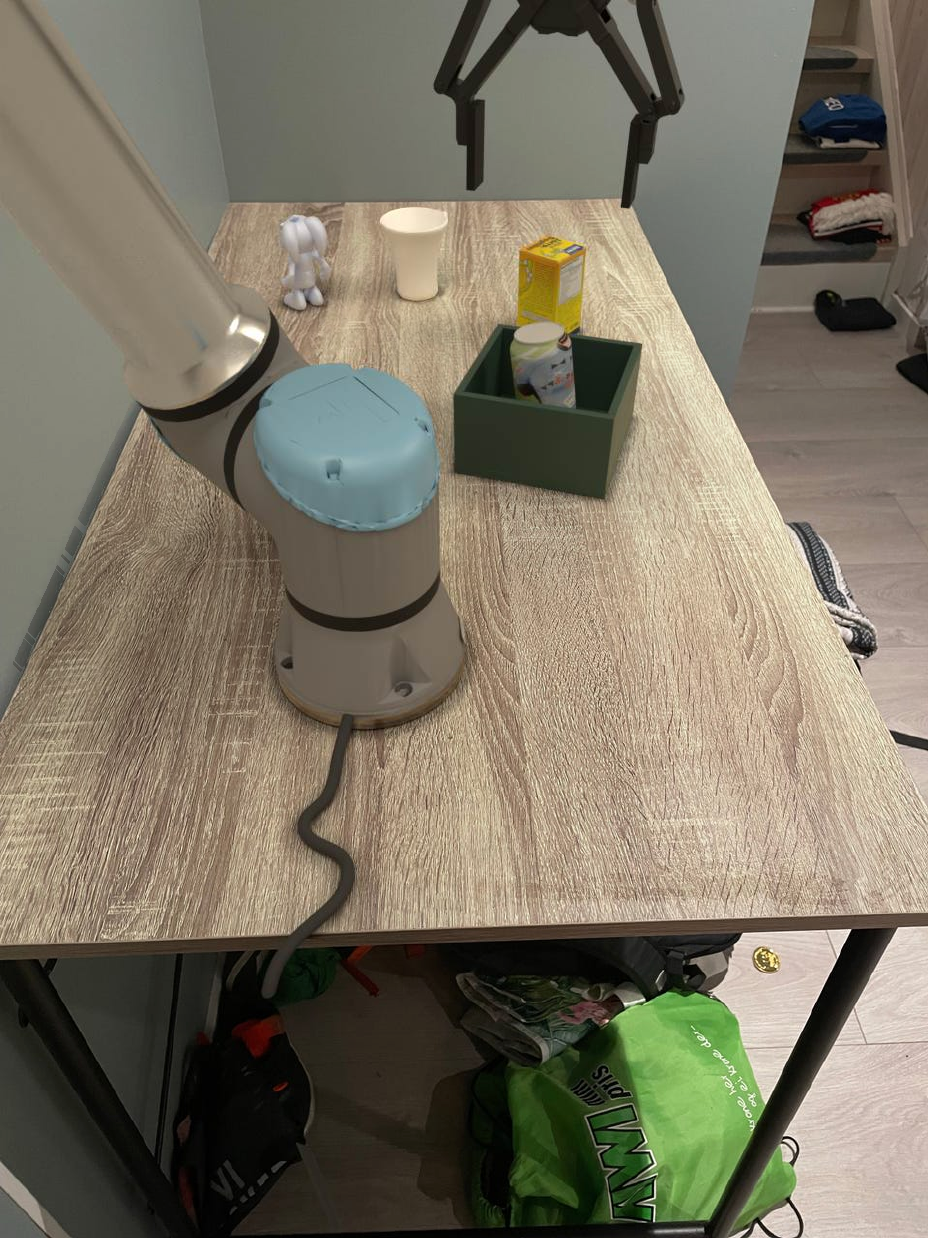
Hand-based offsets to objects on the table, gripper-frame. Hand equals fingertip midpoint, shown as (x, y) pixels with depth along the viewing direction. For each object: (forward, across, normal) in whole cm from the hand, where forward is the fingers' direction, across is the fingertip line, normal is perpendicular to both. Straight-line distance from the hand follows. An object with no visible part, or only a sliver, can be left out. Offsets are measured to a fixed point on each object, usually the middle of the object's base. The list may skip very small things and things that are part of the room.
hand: (549, 194), depth 79 cm
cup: (+26, +25, -33) cm, 49 cm away
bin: (+26, -1, -1) cm, 26 cm away
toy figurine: (+26, +38, -25) cm, 52 cm away
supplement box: (+26, +5, -26) cm, 37 cm away
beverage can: (+25, -1, -1) cm, 25 cm away
